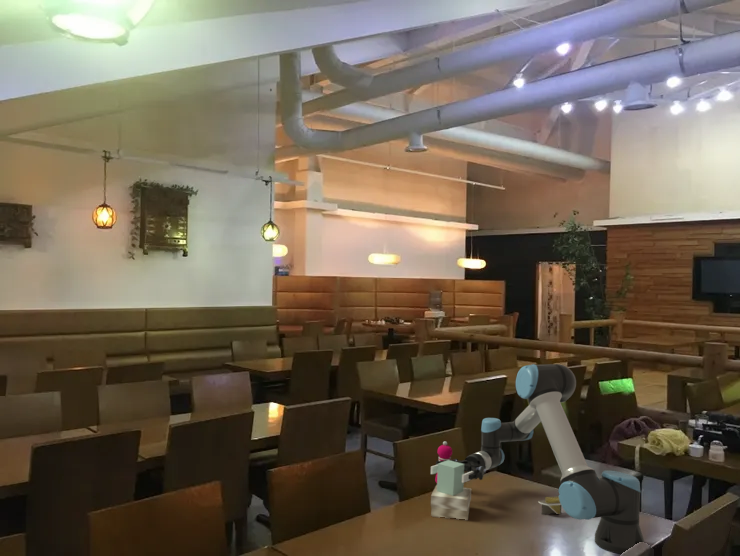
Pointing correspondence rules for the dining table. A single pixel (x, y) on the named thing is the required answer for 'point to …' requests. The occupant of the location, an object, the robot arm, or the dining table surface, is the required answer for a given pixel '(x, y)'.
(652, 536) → the dining table surface
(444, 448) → the pepper mill
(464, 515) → the bottom block
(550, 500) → the platform
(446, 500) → the top block
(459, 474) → the sage block
